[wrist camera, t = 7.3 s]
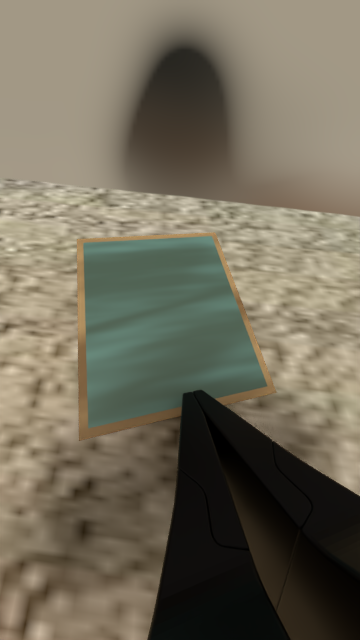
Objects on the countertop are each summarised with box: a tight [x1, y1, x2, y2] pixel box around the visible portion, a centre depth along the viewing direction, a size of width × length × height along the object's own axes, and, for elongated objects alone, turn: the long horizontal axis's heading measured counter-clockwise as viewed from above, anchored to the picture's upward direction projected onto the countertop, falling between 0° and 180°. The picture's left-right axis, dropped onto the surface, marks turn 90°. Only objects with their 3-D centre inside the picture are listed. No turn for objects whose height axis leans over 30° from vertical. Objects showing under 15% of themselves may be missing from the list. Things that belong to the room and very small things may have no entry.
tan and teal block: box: [77, 233, 276, 441], centre depth 14 cm, size 5×10×12 cm
